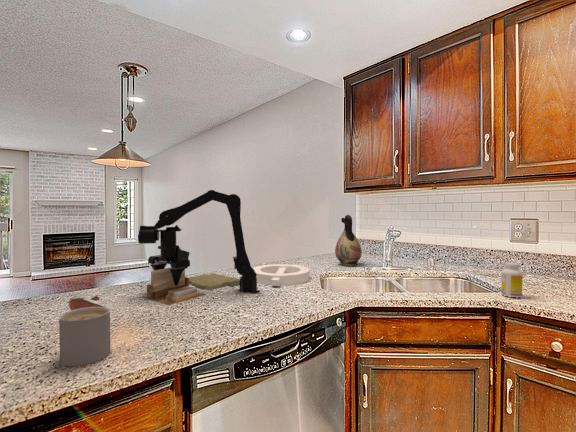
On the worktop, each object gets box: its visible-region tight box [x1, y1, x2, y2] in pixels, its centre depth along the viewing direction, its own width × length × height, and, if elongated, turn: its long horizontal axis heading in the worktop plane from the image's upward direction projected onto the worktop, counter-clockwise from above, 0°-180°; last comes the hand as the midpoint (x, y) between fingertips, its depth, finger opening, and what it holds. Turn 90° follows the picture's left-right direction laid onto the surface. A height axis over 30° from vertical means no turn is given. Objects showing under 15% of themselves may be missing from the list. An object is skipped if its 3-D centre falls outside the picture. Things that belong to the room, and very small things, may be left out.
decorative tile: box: [188, 272, 240, 291], centre depth 143 cm, size 19×20×4 cm
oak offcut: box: [166, 291, 200, 303], centre depth 120 cm, size 6×10×2 cm, turn 145°
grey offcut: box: [168, 285, 198, 297], centre depth 120 cm, size 5×9×2 cm, turn 145°
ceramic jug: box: [334, 214, 363, 267], centre depth 192 cm, size 17×15×30 cm
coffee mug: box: [58, 306, 111, 367], centre depth 77 cm, size 13×10×10 cm
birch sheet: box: [150, 266, 186, 299], centre depth 125 cm, size 1×14×10 cm, turn 145°
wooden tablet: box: [68, 294, 104, 311], centre depth 111 cm, size 27×10×2 cm, turn 37°
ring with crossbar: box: [252, 263, 311, 287], centre depth 157 cm, size 28×28×5 cm
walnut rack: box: [142, 276, 207, 306], centre depth 122 cm, size 16×17×6 cm
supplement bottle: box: [500, 262, 523, 298], centre depth 126 cm, size 7×7×13 cm
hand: (168, 283), depth 125 cm, fingers open, 9 cm apart
